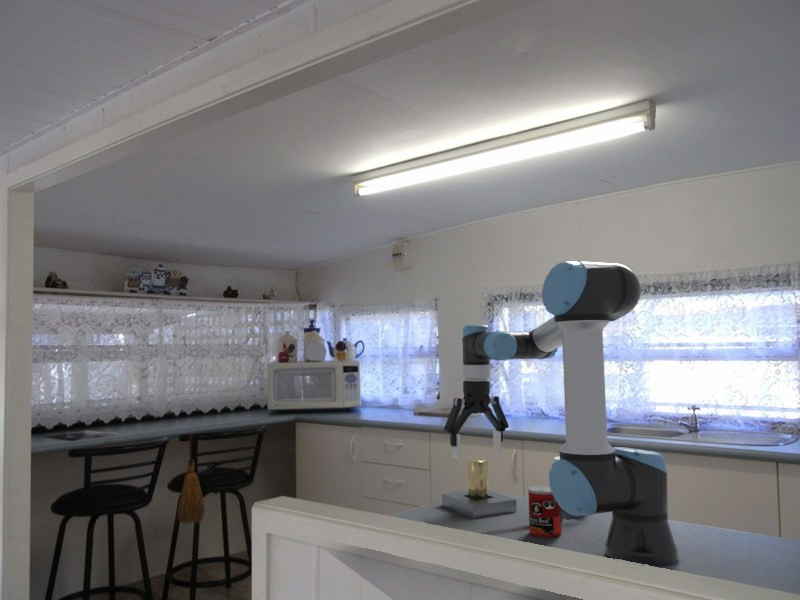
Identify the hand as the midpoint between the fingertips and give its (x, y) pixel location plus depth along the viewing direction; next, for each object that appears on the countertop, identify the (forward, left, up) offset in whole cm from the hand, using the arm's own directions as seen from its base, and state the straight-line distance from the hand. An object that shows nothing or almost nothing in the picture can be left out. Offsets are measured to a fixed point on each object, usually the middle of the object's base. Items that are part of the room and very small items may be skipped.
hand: (477, 456), depth 190 cm
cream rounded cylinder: (0, 0, -14) cm, 14 cm away
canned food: (-25, -3, -16) cm, 30 cm away
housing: (0, 0, -16) cm, 16 cm away
